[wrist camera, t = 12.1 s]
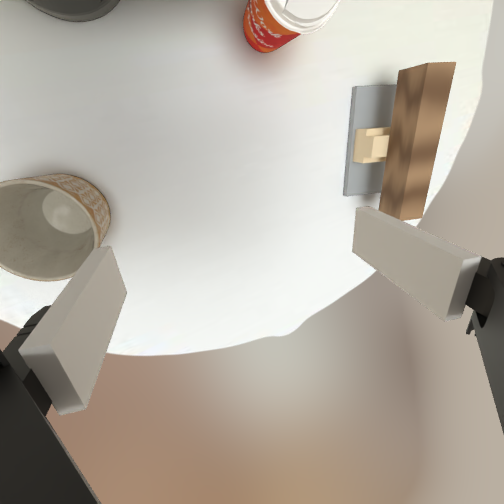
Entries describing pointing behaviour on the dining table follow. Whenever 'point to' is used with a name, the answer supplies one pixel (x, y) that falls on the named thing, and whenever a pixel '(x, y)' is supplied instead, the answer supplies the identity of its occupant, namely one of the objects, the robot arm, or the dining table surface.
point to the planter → (50, 225)
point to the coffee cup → (283, 20)
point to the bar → (414, 138)
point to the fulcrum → (368, 138)
